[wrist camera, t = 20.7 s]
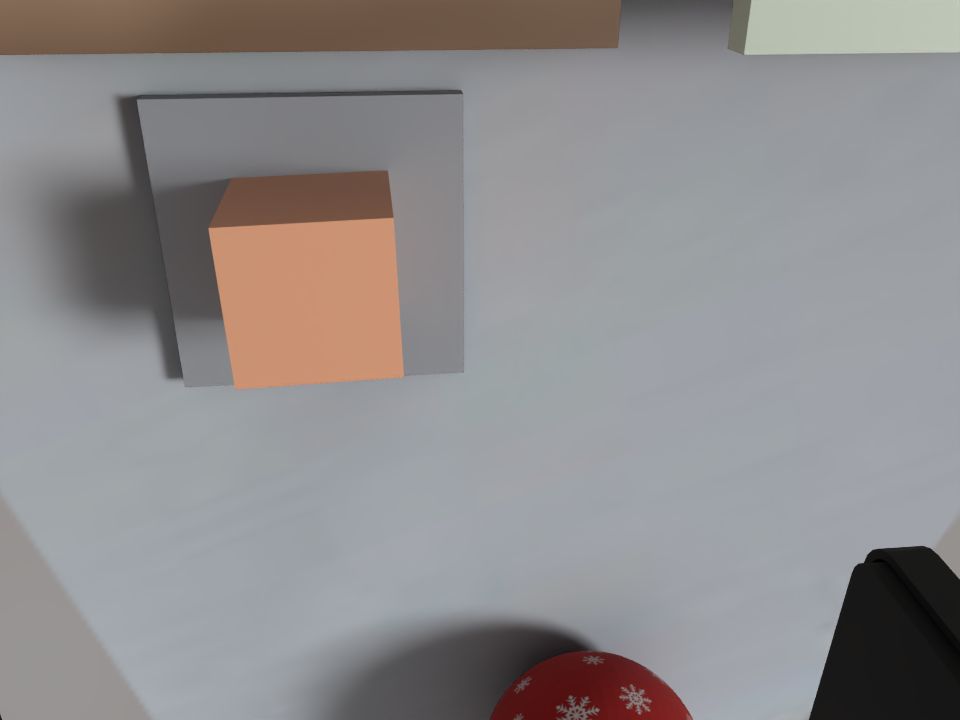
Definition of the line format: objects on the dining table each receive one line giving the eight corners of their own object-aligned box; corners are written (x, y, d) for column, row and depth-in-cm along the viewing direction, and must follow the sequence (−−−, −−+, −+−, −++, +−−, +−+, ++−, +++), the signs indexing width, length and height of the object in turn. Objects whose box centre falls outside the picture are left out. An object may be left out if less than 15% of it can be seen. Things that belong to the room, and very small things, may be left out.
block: (231, 178, 25) (208, 228, 21) (387, 170, 26) (393, 217, 22) (252, 319, 27) (235, 389, 23) (397, 310, 28) (403, 377, 24)
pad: (141, 95, 25) (136, 99, 24) (460, 90, 26) (463, 93, 25) (188, 378, 29) (184, 387, 28) (461, 364, 30) (463, 372, 29)
